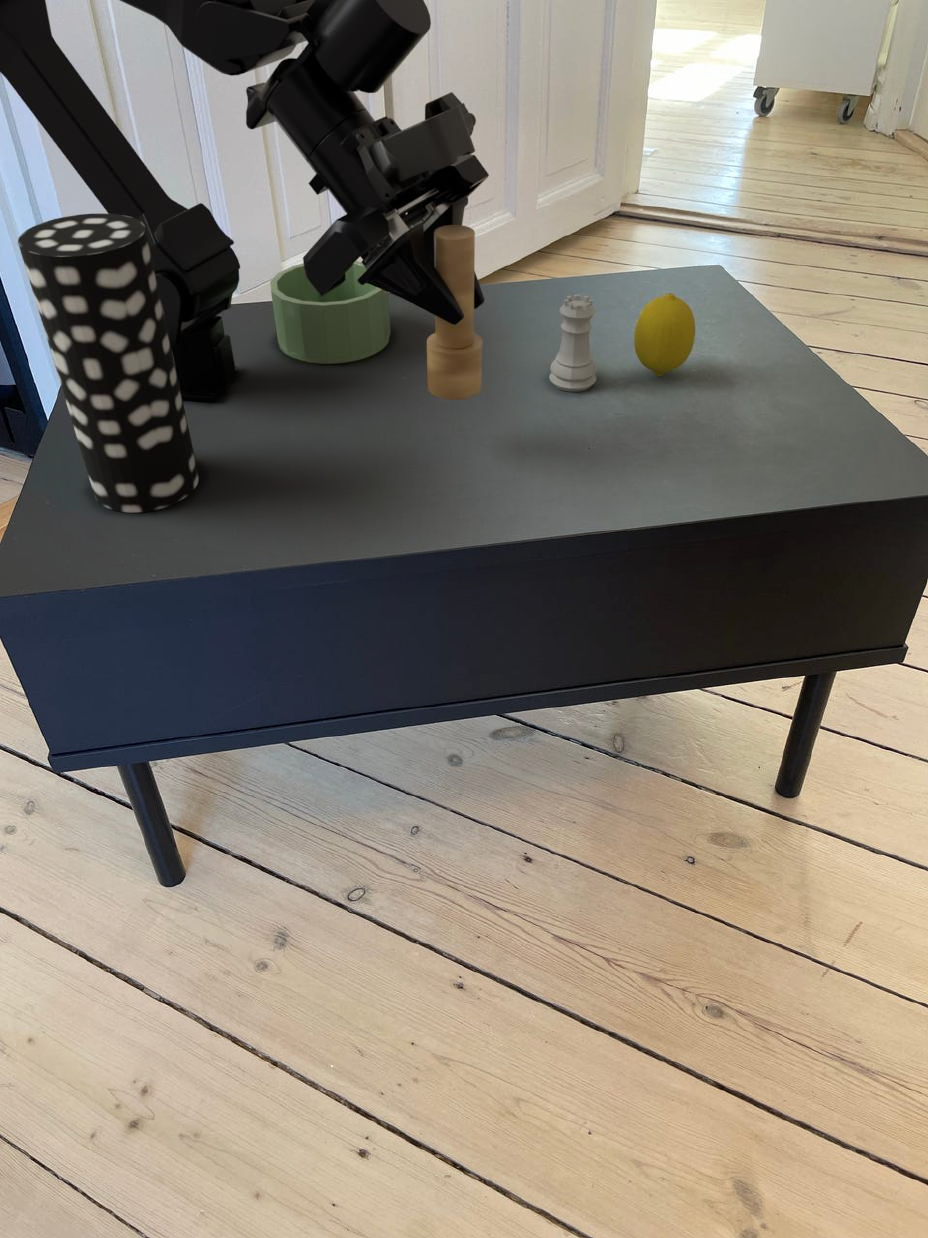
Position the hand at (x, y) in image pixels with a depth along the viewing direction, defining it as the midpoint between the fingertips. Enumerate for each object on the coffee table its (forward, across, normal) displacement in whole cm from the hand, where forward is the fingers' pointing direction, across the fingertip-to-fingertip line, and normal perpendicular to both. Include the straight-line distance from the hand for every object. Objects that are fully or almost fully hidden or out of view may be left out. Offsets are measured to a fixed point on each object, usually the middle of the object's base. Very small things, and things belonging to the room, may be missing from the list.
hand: (470, 313), depth 74 cm
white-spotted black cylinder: (-6, -17, +24) cm, 30 cm away
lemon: (+16, +21, +2) cm, 26 cm away
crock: (-7, +13, +25) cm, 29 cm away
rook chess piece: (+11, +16, +7) cm, 20 cm away
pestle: (+4, 0, +6) cm, 7 cm away
